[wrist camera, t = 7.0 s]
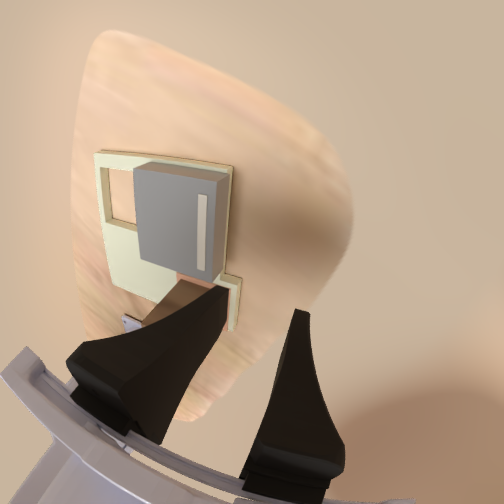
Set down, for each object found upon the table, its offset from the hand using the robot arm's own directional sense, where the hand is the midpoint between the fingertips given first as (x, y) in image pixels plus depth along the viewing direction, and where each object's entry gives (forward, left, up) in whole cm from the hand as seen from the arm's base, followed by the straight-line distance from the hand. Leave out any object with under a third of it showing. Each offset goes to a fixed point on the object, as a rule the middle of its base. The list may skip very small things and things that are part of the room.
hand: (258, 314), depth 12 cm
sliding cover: (0, +8, -7) cm, 11 cm away
